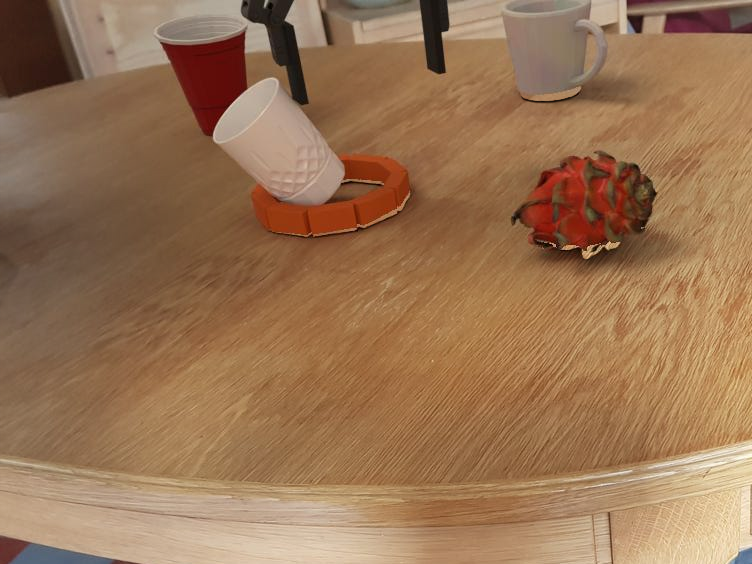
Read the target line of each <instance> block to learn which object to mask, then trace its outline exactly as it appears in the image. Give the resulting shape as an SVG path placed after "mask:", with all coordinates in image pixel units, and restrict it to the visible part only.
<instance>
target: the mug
mask: <svg viewBox="0 0 752 564" xmlns="http://www.w3.org/2000/svg"><path fill="white" fill-rule="evenodd" d="M591 9H592V0H511V1H509V2H506V3H505V4H504V5H502V7H501V11H500V12H501V18H502V22H503V26H504V33H505V36H506V40H507V46H508V50H509V55H510V60H511V64H512V69H513V74H514V79H515V82H516V86H517V87H516V88H517V91H518V90H519V91H520V92H522V93H525V94H531V95H541V94H542V95H544V94H553V93H558V92H563V91H567V90H571V89H574V88H576V87H579V86H582V87H583V86H585V85H586V84H588V83H590V82H591V81H593V80H594V79H595V78H596V77H597V76H598V75H599V74H600V72H601V70H602V69H603V67H604V66H605V63H606V60H607V57H608V48H609V43H608V40H607V38H606V35H605V31H604V29H603V28H602V27H601V25H600V24H599V23H597V22H595V21H593V20H591V11H592V10H591ZM589 32H590V33H591V34H592V36H593V37H594V39H595V43H596V45H597V49H596V56H595V59H594V62H593V64H592V65H591V67H590V68H588V70H587V71H585V64H586V54H587V45H588V36H589ZM584 71H585V72H584Z"/></svg>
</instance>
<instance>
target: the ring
mask: <svg viewBox="0 0 752 564" xmlns="http://www.w3.org/2000/svg"><path fill="white" fill-rule="evenodd" d="M336 156H337V157H338V158H339V160H340V161H341V162H342V163H343V165H344V168H345V175H344V178H343V180H346V179H358V180H360V179H361V180H371V181H381V182H382V183H384V185H383V186H382V185H381V187H379V188H377V189H374V190H372V191H370V192H368V193H364V194H363V195H360V196H358V197H356V198H353V199H351V200H350V199H349V200H344V201H337V202H330V203H324V204H323V205H316V206H303V205H295V204H287V203H281V201H279V200H278V199H277V198H276V197H274V196H272V195H271V194H270V193H269V192H268V191H267V190H266V189H265V188H264V187H262V186H261V185H260V184H259V183H258V184H256V186H255V187H254V189H253V190H252V191H251V194H250V196H251V201H252V204H253V209H254V213H255V216H256V218H257V220H258V219H259V220H260V221H259V220H258V221H259V222H260V223H261V225H262V226H263V225H264V226H265V227H264V226H263V227H264V228H265V230H266V231H268V230H270V229H271V231H273V232H282V233H284V232H285V233H291V234H292V233H294V234H301V235H308V234H309V233H311V232H312V235H314V234H319V233H327V232H333V231H338V230H344V229H350V228H357V224H360V225H363V226H364V225H365V224H368V223H370V222H372V221H374V220H376V219H378V218H380V217H381V216H383V215H385V214H388V213H389V212H391V211H392V210H395V209H397V206H398V207H399V206H401V204H402V203H403V201H404V199H405V198H406V196H407V195H408V193H409V191H410V189H411V184H410V183H411V182H410V177H409V172H408V168H406V167H405V166H403V165H402V164H400V162H398V161H396V160H395V159H393V158H392V157H390V158H389V156H382V155H381V156H380V155H372V154H371V155H370V154H361V153H360V154H359V153H353V154H351V155H350V154H349V153H346V154H339V155H336ZM271 231H270V232H271ZM312 235H311V236H312Z"/></svg>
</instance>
